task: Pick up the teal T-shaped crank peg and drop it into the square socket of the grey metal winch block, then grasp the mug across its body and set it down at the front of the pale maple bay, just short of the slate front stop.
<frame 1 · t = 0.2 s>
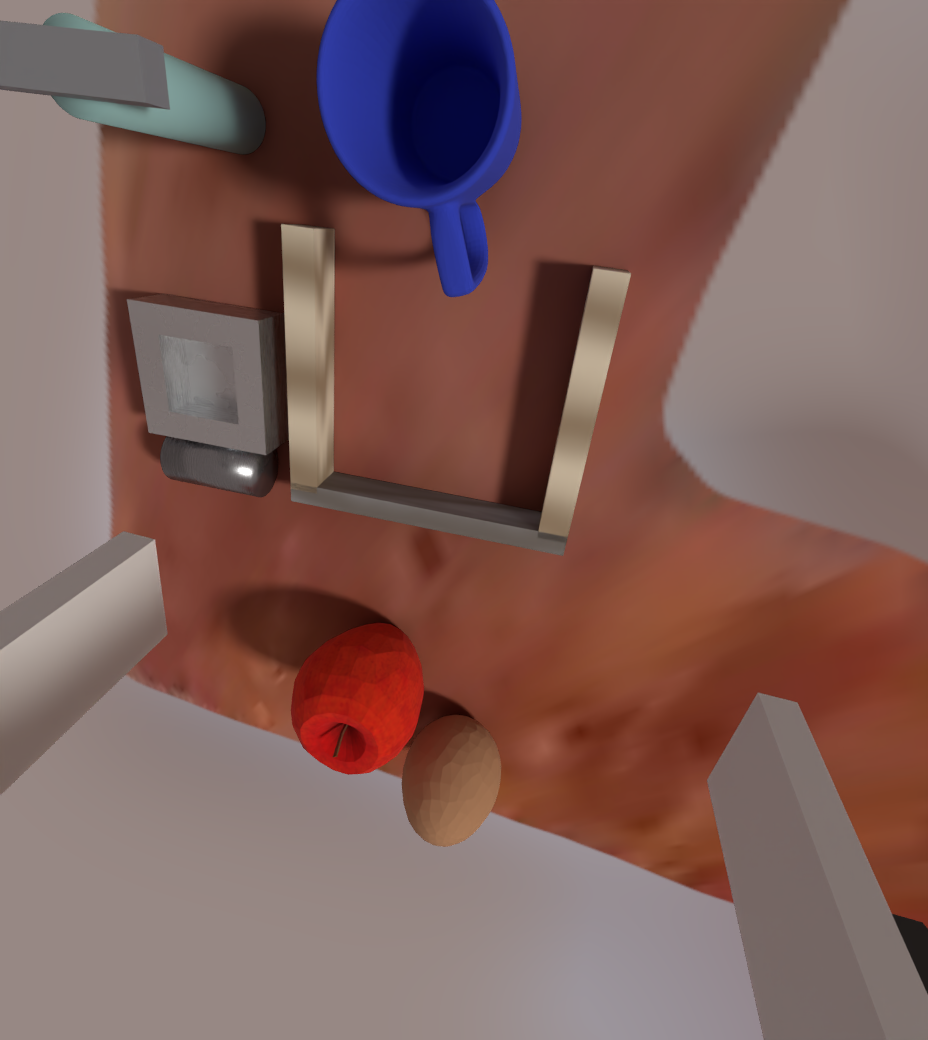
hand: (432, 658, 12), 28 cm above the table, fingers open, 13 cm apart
crank peg: (238, 120, 33), on the table
winch block: (228, 369, 40), on the table
egg: (464, 723, 52), on the table
apple: (387, 640, 49), on the table
bay: (446, 385, 38), on the table
mug: (469, 169, 32), on the table
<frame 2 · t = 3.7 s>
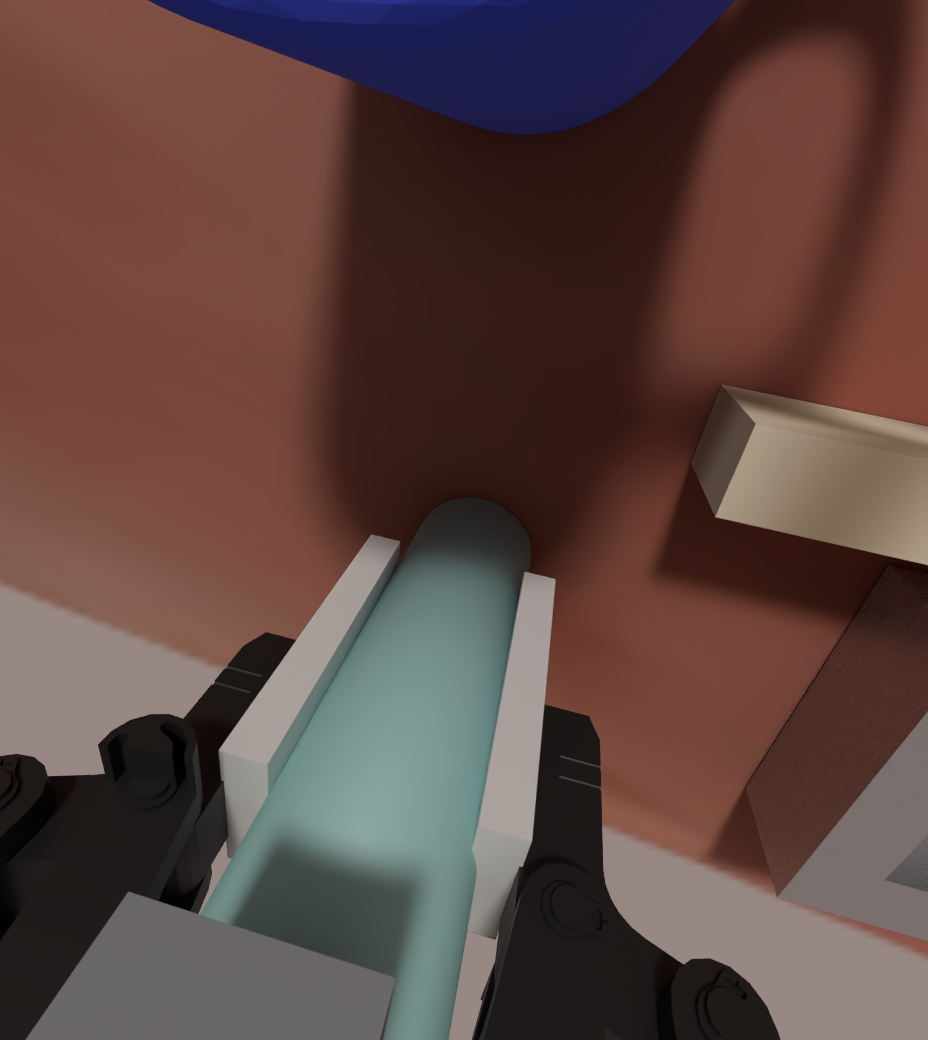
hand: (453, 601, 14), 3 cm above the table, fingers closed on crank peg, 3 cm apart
crank peg: (473, 550, 16), on the table, touching gripper
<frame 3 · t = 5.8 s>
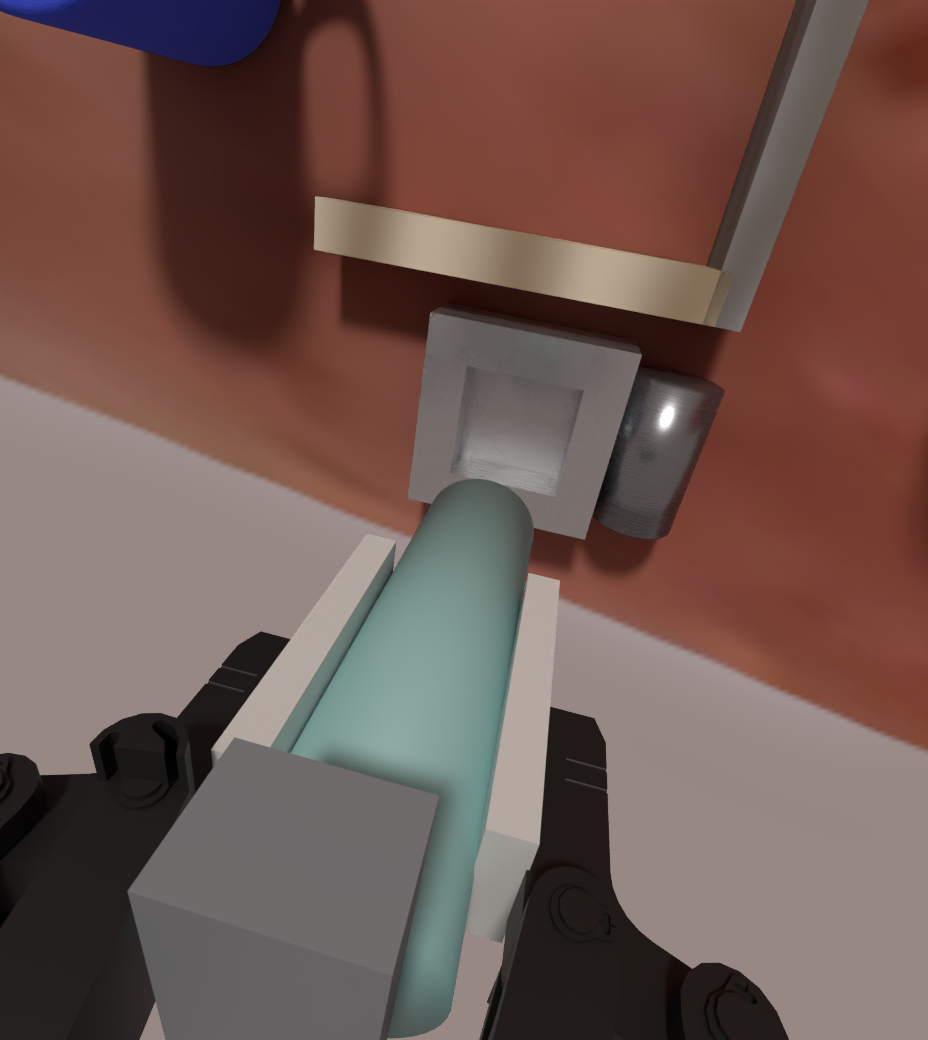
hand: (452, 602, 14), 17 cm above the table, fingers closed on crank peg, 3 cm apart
crank peg: (479, 528, 18), point 13 cm above the table, touching gripper
winch block: (520, 412, 28), on the table
when the fingers open (5 cm above the table, at t = 8.1 s): crank peg stays where it is, resting on winch block.
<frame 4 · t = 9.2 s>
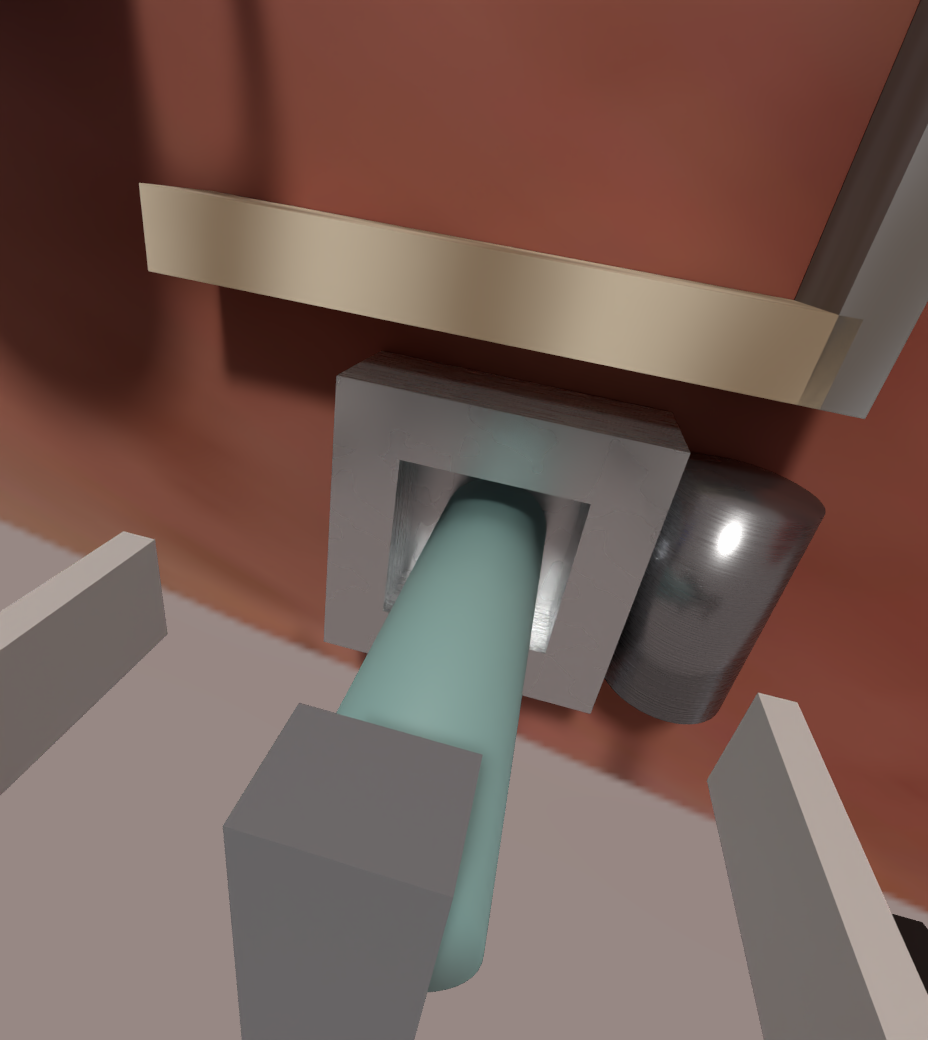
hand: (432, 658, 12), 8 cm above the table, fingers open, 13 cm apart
crank peg: (493, 526, 18), point 1 cm above the table, touching winch block
winch block: (495, 509, 19), on the table
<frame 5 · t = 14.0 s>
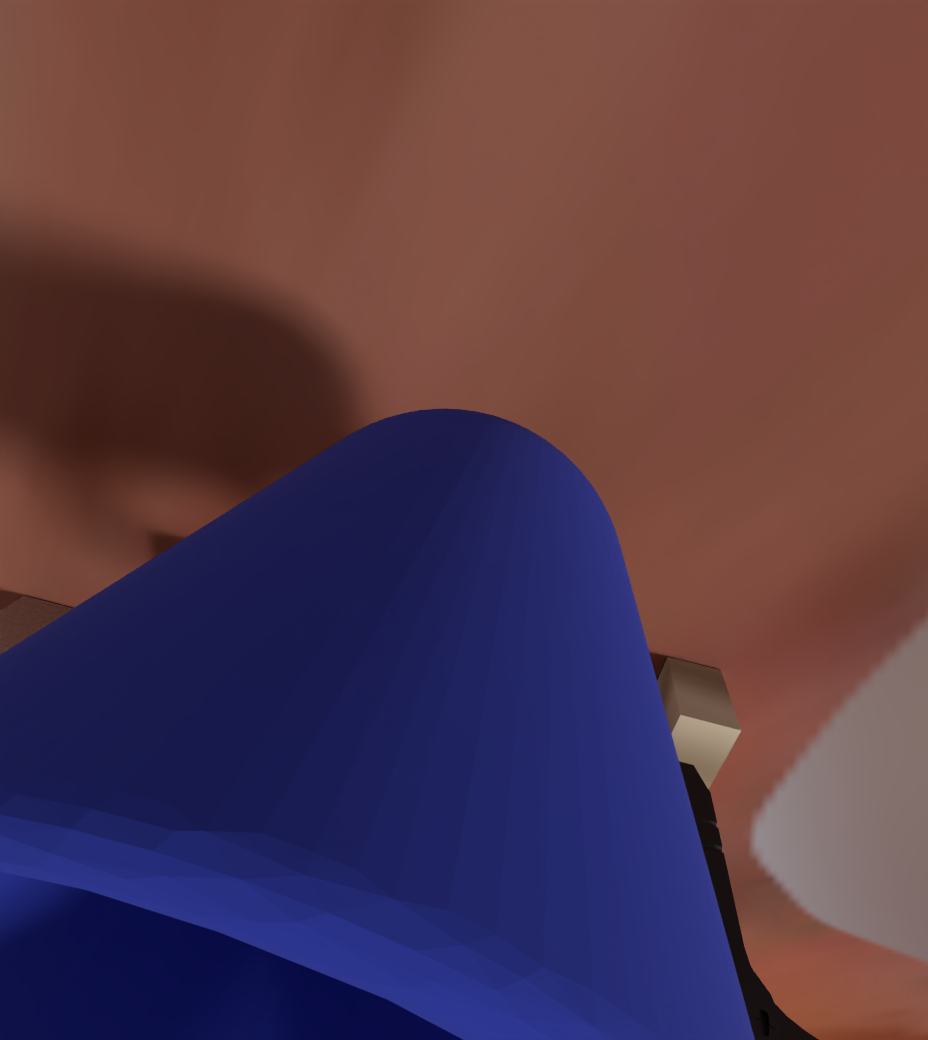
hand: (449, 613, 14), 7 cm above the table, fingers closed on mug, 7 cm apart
winch block: (122, 689, 28), on the table
bay: (434, 753, 26), on the table
mug: (476, 601, 14), point 6 cm above the table, touching gripper
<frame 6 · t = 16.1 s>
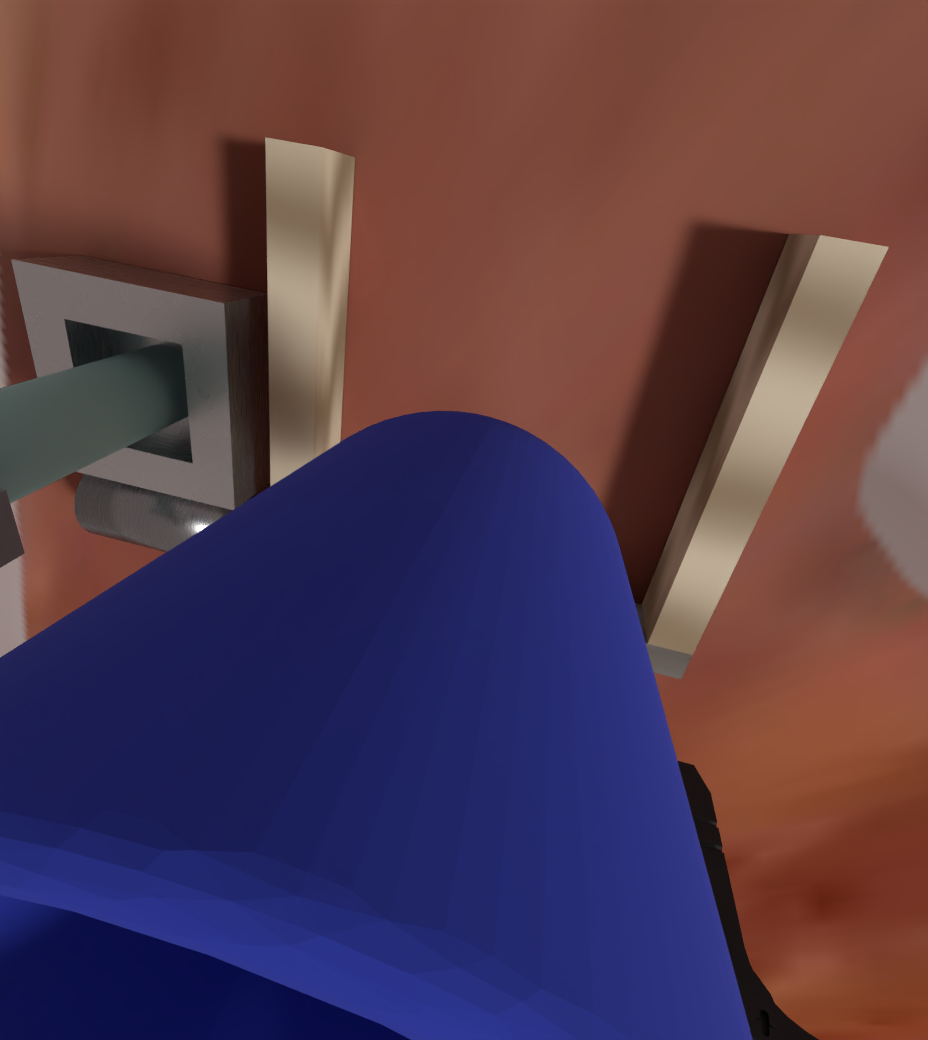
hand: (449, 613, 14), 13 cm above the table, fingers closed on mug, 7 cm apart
crank peg: (168, 382, 26), point 1 cm above the table, touching winch block
winch block: (183, 375, 27), on the table
bay: (516, 416, 24), on the table
mug: (476, 604, 14), point 13 cm above the table, touching gripper
when the fingers open (0 cm above the table, at t = 18.5 s): mug stays where it is, resting in bay.
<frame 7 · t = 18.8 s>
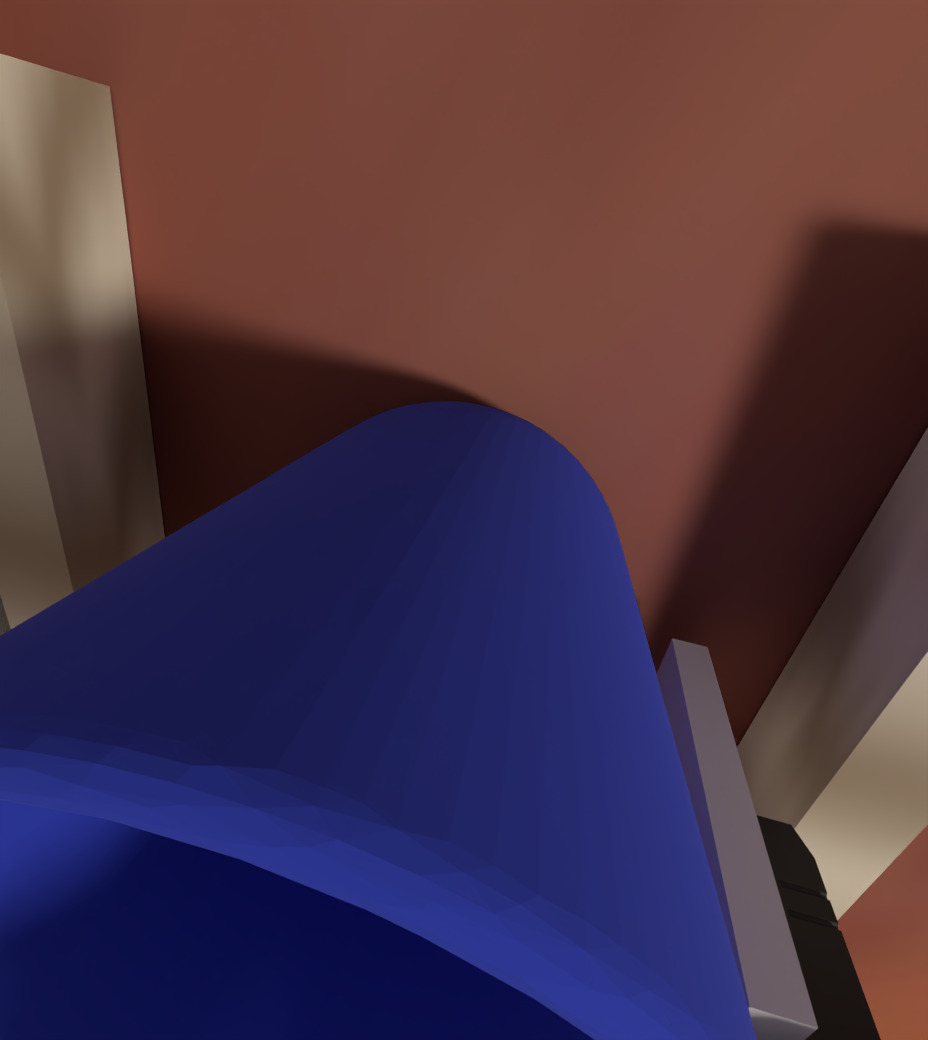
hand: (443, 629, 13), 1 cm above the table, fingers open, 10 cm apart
bay: (459, 568, 14), on the table
mug: (477, 594, 14), resting in bay
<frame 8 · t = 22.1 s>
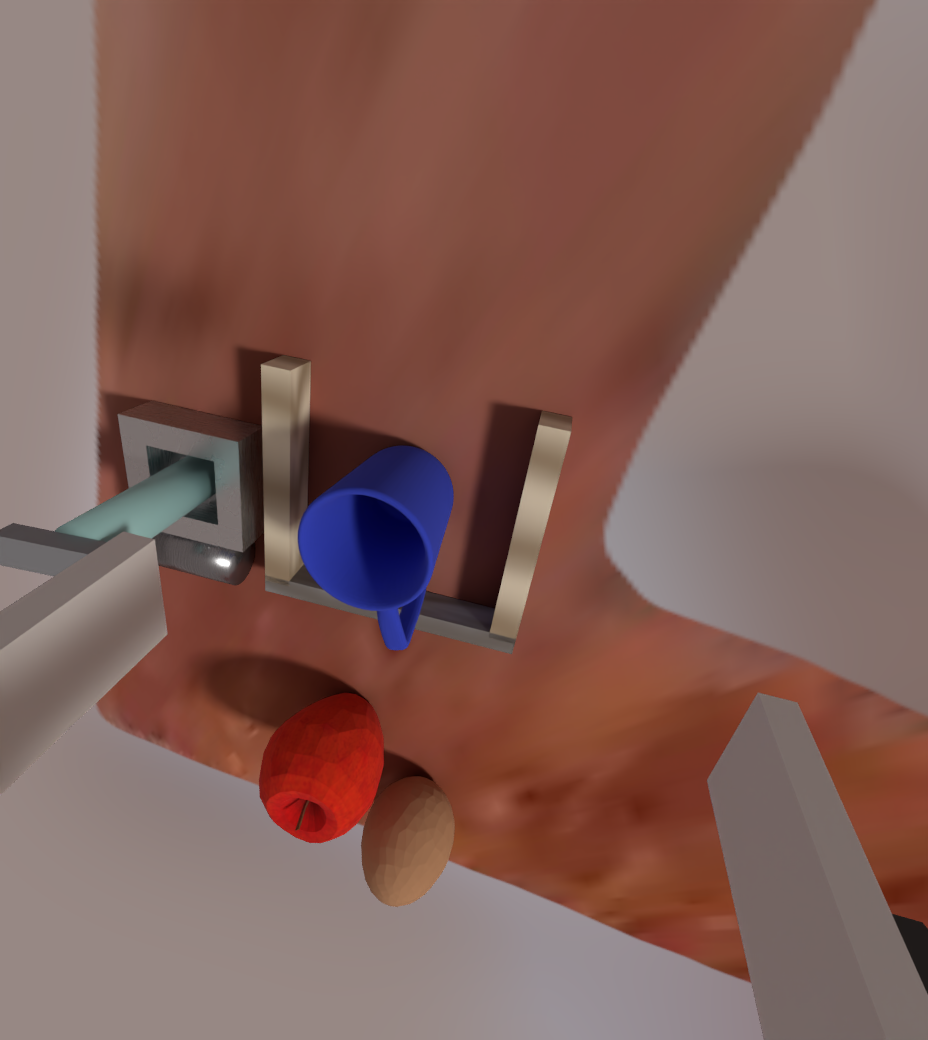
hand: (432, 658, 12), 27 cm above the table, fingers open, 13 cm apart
crank peg: (202, 474, 42), point 1 cm above the table, touching winch block
winch block: (211, 468, 43), on the table
egg: (423, 782, 56), on the table
apple: (353, 706, 53), on the table
bay: (410, 497, 41), on the table
mug: (416, 507, 42), resting in bay
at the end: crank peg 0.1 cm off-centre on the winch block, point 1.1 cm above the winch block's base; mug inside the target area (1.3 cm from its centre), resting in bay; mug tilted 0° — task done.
